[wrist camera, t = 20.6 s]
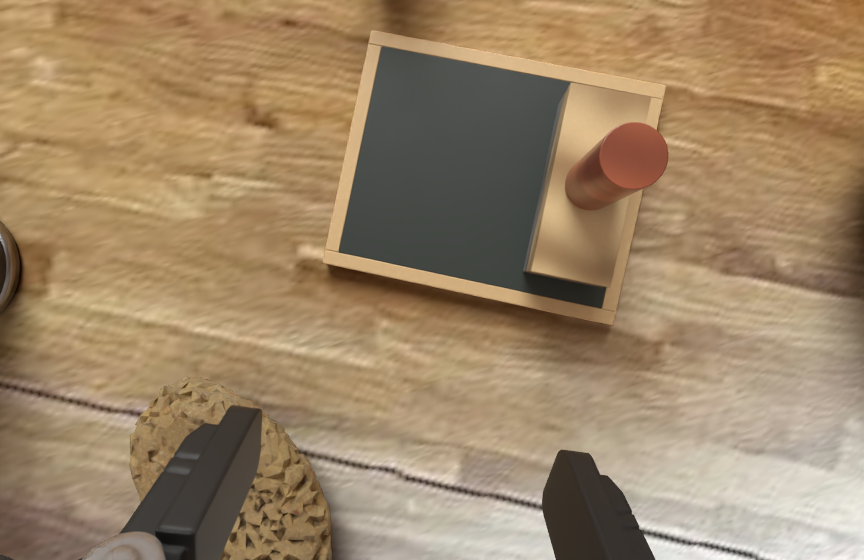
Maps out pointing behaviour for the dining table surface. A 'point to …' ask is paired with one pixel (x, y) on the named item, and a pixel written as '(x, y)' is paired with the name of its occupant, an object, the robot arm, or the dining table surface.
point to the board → (461, 173)
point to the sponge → (273, 484)
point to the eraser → (592, 183)
